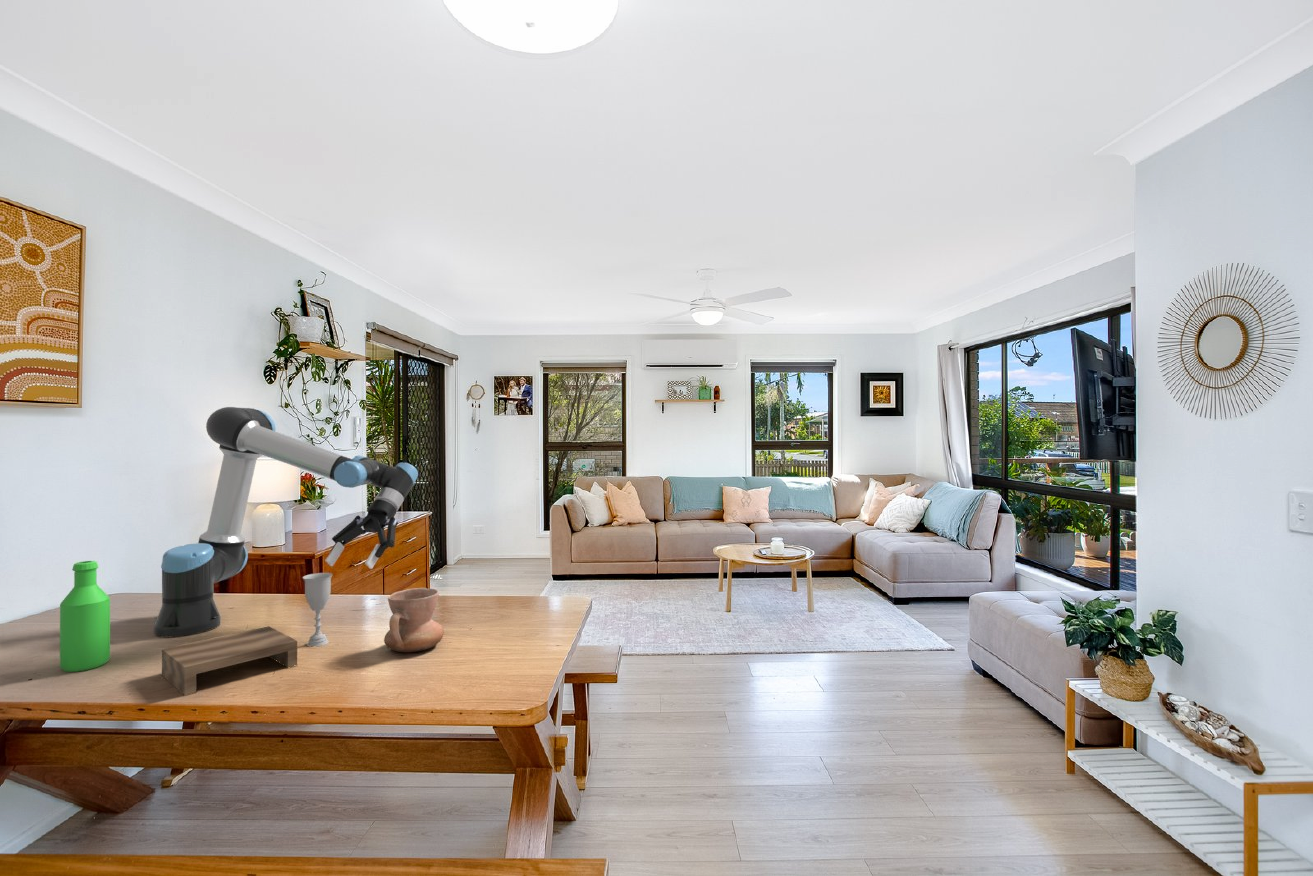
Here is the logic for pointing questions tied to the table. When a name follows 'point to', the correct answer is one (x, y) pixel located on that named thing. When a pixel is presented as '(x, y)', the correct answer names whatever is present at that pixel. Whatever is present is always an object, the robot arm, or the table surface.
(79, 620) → the bottle
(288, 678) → the table surface
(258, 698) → the table surface
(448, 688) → the table surface
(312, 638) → the chalice
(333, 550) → the robot arm
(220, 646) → the walnut shelf
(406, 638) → the ceramic jug
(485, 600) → the table surface
